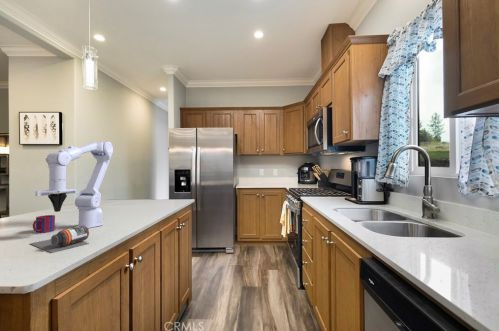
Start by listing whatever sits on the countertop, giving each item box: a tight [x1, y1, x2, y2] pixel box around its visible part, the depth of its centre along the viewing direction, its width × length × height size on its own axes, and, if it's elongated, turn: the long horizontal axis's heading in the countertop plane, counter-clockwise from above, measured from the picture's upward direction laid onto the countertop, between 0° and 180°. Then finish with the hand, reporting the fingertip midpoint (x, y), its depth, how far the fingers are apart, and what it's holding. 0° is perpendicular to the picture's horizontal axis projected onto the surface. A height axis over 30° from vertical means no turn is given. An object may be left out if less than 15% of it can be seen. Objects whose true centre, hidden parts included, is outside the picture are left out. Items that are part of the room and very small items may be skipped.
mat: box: [29, 238, 89, 254], centre depth 93 cm, size 12×18×1 cm, turn 59°
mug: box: [32, 214, 56, 234], centre depth 109 cm, size 7×10×7 cm
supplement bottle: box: [50, 225, 90, 246], centre depth 92 cm, size 6×6×11 cm
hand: (57, 211), depth 104 cm, fingers closed
